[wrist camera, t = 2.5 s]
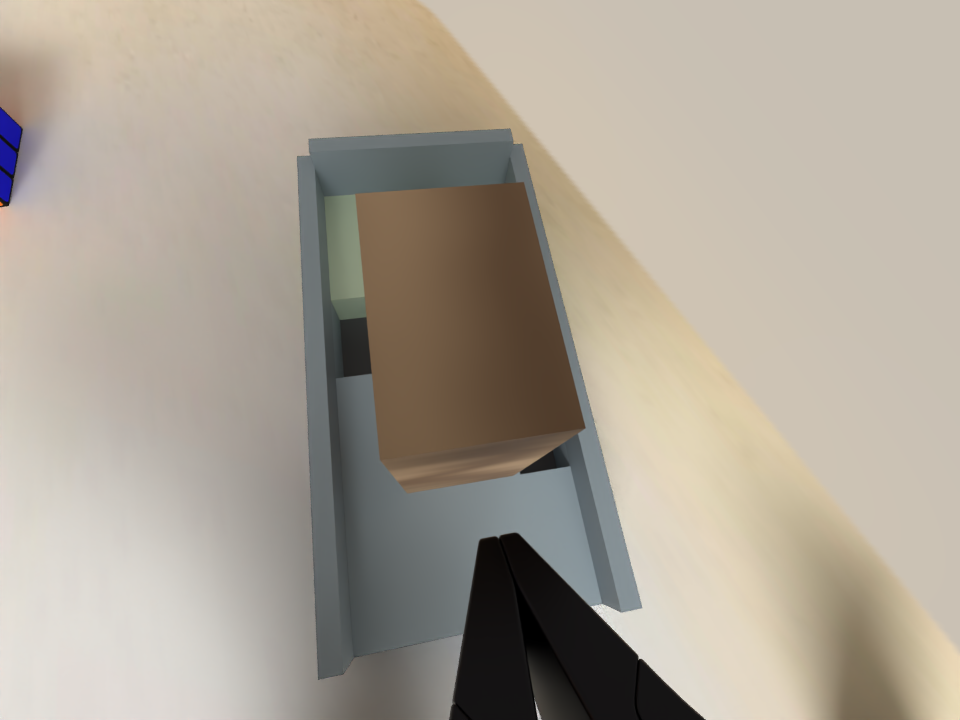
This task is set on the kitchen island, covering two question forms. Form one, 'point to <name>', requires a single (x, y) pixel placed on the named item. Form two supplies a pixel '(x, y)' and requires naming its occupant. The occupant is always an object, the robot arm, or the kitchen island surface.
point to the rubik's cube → (8, 155)
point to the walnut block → (462, 335)
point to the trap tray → (354, 441)
